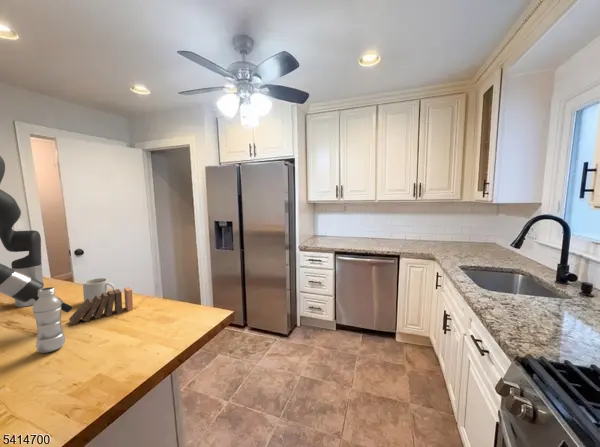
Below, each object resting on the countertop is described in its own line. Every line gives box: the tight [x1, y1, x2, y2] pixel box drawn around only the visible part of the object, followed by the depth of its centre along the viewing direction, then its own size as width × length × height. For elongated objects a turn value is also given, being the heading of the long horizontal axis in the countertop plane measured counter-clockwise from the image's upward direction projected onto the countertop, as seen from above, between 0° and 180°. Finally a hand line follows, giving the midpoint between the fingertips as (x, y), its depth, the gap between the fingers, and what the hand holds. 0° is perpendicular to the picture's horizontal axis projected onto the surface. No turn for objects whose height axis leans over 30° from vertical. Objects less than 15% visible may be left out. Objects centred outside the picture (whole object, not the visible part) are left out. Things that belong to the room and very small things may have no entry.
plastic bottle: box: [31, 286, 66, 354], centre depth 80 cm, size 6×7×20 cm
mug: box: [82, 277, 117, 303], centre depth 118 cm, size 11×10×10 cm
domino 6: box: [123, 286, 134, 312], centre depth 111 cm, size 2×5×9 cm, turn 46°
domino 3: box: [92, 293, 110, 319], centre depth 104 cm, size 2×5×9 cm, turn 47°
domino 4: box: [103, 290, 115, 317], centre depth 106 cm, size 2×5×9 cm, turn 46°
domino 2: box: [81, 295, 103, 322], centre depth 102 cm, size 2×5×9 cm
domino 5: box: [113, 288, 123, 315], centre depth 108 cm, size 2×5×9 cm, turn 46°
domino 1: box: [68, 298, 94, 325], centre depth 100 cm, size 2×5×9 cm
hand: (70, 309), depth 97 cm, fingers closed
